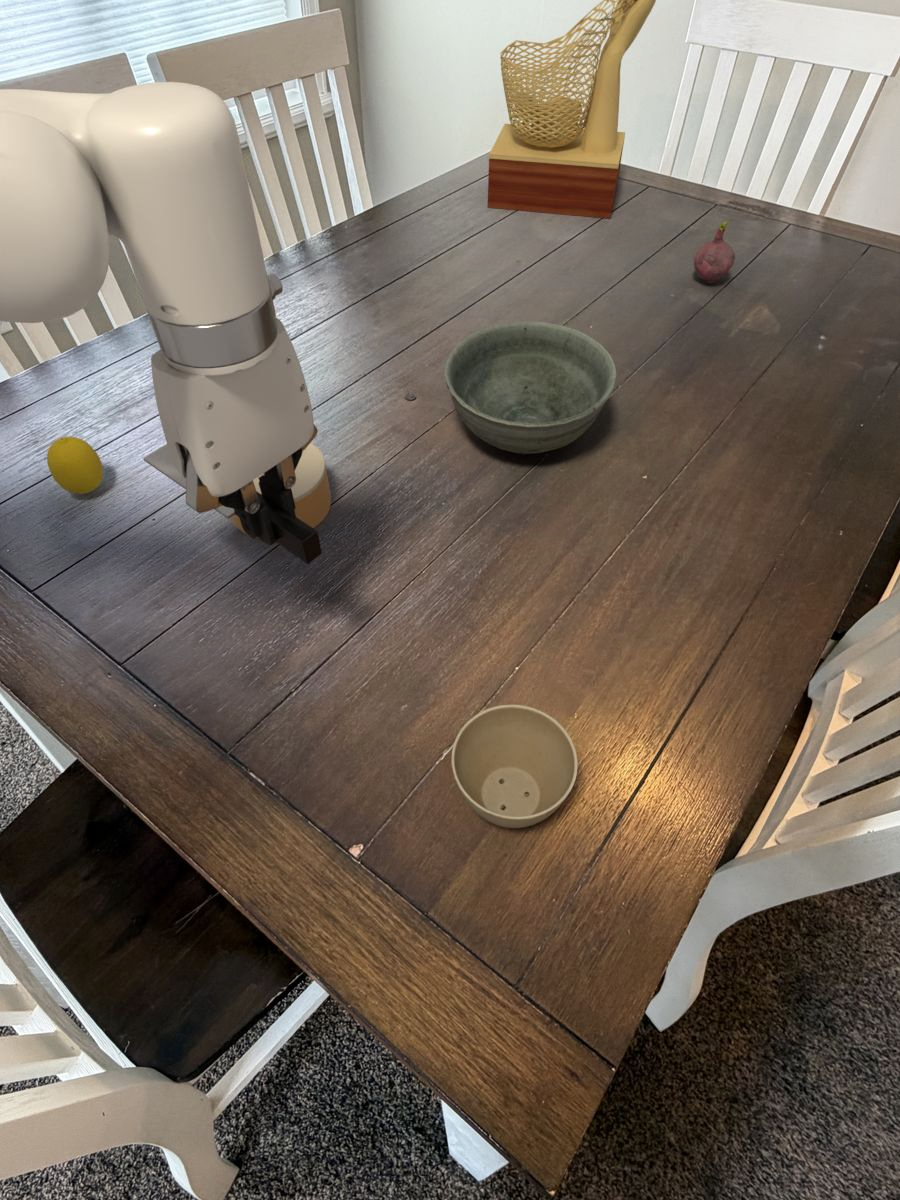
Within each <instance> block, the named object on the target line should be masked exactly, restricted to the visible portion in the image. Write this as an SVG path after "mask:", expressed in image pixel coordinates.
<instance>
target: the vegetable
mask: <svg viewBox="0 0 900 1200" xmlns="http://www.w3.org/2000/svg"><path fill="white" fill-rule="evenodd" d="M728 224H729V223H728V221H724V222H723V223H721V224H720V225H719V227H718V229H717V231H716V234H715V236H714V239H713V240H711V241H709V242H708V243H704V244H703V245H702V246H701V247H700V248H698V250H697V252H695V253H696V254H695V256H694V259H693V266H694V270H695V272H696V273H697V275H698V276H699V277H700V278H701V279H702V280H704V282H705V283H706V284H712V283H715V282H717V281H718V280H719V279H721V278H723V277H724V276H725V275H726V274H727V273H728V272H729V271H730V270H731V269H732V268H733V266H734V263H735V262H736V261H735V260H736V255H735V251H734V249H733V247H732V246H731V245H730V244H729V243H728V242H726V241H724V233H725V231H726V227H727V226H728Z"/></svg>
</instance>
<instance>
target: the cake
mask: <svg viewBox="0 0 900 1200" xmlns="http://www.w3.org/2000/svg"><path fill="white" fill-rule="evenodd" d="M262 475H264V474H262ZM262 475H260V476H262ZM295 475H296V483H295V485H294V486H293V487H292V488H291V490H292V494H293V498H294V502H295V507H296V508H295V514H296V517H297V518H298V519H300V520H301V521H303V522H305V523H306V524H308V525H309V526H311V527H312V528H314V529H316V527H317V526H319V525H320V524H322V522H323V521H324V520H325V518H326V517H327V515H328V514H329V511H330V510H331V506H332V494H331V489H330V488H331V487H330V483H329V478H328V472H327V466H326V460H325V457H324V455H323V452H321V450H320V449H319V448H318V447H317V446H316V445H315V444H313V443H312V442H311V443H310V444H309V445H308V446H307V447H306V449H305V450H302V456H301V458H300V460H299V463H298V465H297V467H296V469H295ZM260 476H259V477H260ZM259 477H257V478H256V479H254V480H253V482H254V485H255V488H256V491H257V492H259V493H260V494H261V490H260V487H259V482H260V481H259ZM230 519H231V522H232V523H233V525H234V526H235V527H236V528H237V529H238V530H239V531H240V532H241V533H243V534H245V535H247V536H249V535H248V534H247V533H246V532H245V531H244V529H243V527H242V525H241V521H240V518H239V517H238V516H237V515H234V516H232V517H231V518H230ZM249 537H250V536H249ZM255 539H257V540H260V539H259V538H258V537H256V538H255Z"/></svg>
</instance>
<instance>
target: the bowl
mask: <svg viewBox="0 0 900 1200" xmlns="http://www.w3.org/2000/svg"><path fill="white" fill-rule="evenodd" d="M443 364H444V365H443V378H444V381H445V385H446V387H447V389H448V392H449V394H450V398H451V400H452V402H453V405H454V407H455V409H456V412H457V413H458V416H459V417H460V418H461V420H462V422H463V423H464V425H465V426H466V427H467V428H468V429H469V430H470V432H472V433H473V435H475V436H476V437H477V438H479V439H481V440H482V441H484V442H485V443H486V444H488V445H490V446H493V447H495V448H497V449H500V450H502V451H506V452H510V453H513V454H516V455H535V454H542V453H544V452H545V453H547V452H551V451H554V450H557V449H561V448H563V447H566V446H568V445H570V444H571V443H572V442H574V441H576V440H577V439H578V438H580V437H581V436H582V435H583V434H585V432H587V430H588V429H589V428H590V427H591V426H592V424H593V423H594V422H595V421H596V420H597V418H598V416H599V415H600V413H601V411H602V410H603V408H604V406H605V404H606V402H608V400H609V399H610V397H611V396H612V394H613V392H614V391H615V387H616V382H617V371H616V364H615V362H614V359H613V357H612V355H611V354H610V353H609V352H608V350H607V349H605V347H604V346H603V345H602V344H600V343H599V342H598V341H596V340H595V339H594V338H592V337H591V336H589V335H587V334H586V333H584V332H581V331H579V330H577V329H575V328H574V329H573V328H571V327H568V326H565V325H561V324H556V323H551V322H546V321H532V320H531V321H513V322H505V323H501V324H495V325H492V326H488V327H484V328H482V329H480V330H477V331H475V332H473V333H471V334H469V335H468V336H466V337H465V338H464V339H462V340H461V341H459V342H458V343H457V344H456V345H455V347H454V348H453V349H452V350H451V352H450V353H449V354H448V355H447V358H446V360H445V363H443Z"/></svg>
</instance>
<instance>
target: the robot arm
mask: <svg viewBox="0 0 900 1200" xmlns="http://www.w3.org/2000/svg"><path fill="white" fill-rule="evenodd" d="M256 219H257V218H256V215H255V209H254V204H253V200H252V194H251V189H250V186H249V181H248V175H247V171H246V166H245V160H244V156H243V151H242V146H241V141H240V136H239V132H238V129H237V125H236V121H235V118H234V117H233V114H232V112H231V110H230V108H229V106H228V105H227V103H226V102H225V101H224V99H223V98H221V97H220V96H219V95H218V94H217V93H216V92H214V91H212V90H211V89H209V88H207V87H204V86H201V85H197V84H192V83H187V82H178V81H156V82H155V81H154V82H147V83H139V84H135V85H130V86H126V87H123V88H120V89H116V90H115V91H112V92H109V93H88V92H86V93H85V92H66V91H65V92H64V91H52V90H42V89H41V90H39V89H22V88H21V89H20V88H0V322H3V323H4V322H5V323H17V324H19V323H21V324H39V323H49V322H55V321H58V320H61V319H65V318H68V317H70V316H72V315H74V314H76V313H79V312H80V311H81V310H84V309H85V308H86V307H87V305H89V304H90V303H91V302H92V301H94V299H95V298H96V297H97V295H98V294H99V292H100V290H101V289H102V287H103V285H104V283H105V280H106V277H107V274H108V270H109V265H110V264H109V263H110V240H109V236H112V237H114V238H115V237H116V238H117V239H119V240H120V242H122V244H123V246H124V249H125V251H126V252H125V253H126V254H127V257H128V260H129V263H130V266H131V269H132V272H133V275H134V277H135V280H136V283H137V286H138V290H139V292H140V295H141V298H142V301H143V304H144V306H145V309H146V312H147V315H148V317H149V318H148V319H149V320H150V323H151V326H152V329H153V332H154V335H155V338H156V341H157V343H158V346H159V350H157V351H156V352H155V353H153V354H152V355H151V357H150V366H151V376H152V385H153V392H154V396H155V402H156V408H157V411H158V416H159V420H160V424H161V427H162V431H163V435H164V438H165V441H166V444H167V445H168V449H169V452H170V455H171V458H172V460H173V463H174V465H175V467H176V469H177V471H178V472H179V473H180V474H181V475H182V476H183V477H184V478H186V489H185V504H186V505H187V506H188V507H190V508H191V509H192V510H193V511H195V512H197V513H199V514H202V513H206V512H210V511H213V510H215V509H217V508H218V507H220V506H225V507H228V508H234V509H237V512H238V515H239V518H240V521H241V525H242V527H243V529H244V531H245V532H246V533H247V534H248V535H249V537H250V538H252V539H257V538H256V537H258V538H259V539H258V540H260V541H262V542H263V543H265V544H266V545H267V546H269V547H271V546H272V545H274V544H275V543H276V537H275V533H274V530H273V526H272V523H271V521H272V520H271V516H270V513H269V509H268V507H267V506H266V505H264V504H263V503H261V502H260V501H259V498H258V495H257V492H256V488H255V485H254V482H253V480H254V479H256V478H257V477H259V476H260V475H262V474H264V475H262V476H260V477H259V481H260V482H259V487H260V490H261V494H262V495H263V496H265V497H266V498H268V499H269V500H271V501H272V502H274V503H275V504H277V505H278V506H280V507H281V508H283V509H285V510H286V511H288V512H289V513H291V514H292V515H294V516H295V517H296V514H295V508H296V507H295V502H294V498H293V494H292V490H291V488H292V487H293V486H294V485H295V483H296V475H295V469H296V467H297V465H298V463H299V460H300V458H301V456H302V450H305V449H306V447H307V446H308V445H309V444H310V443H312V442H313V441H314V439H315V438H316V437H317V435H318V433H319V431H318V428H317V427H316V425H315V421H314V414H313V408H312V403H311V399H310V398H311V397H310V394H309V391H308V385H307V383H306V378H305V375H304V371H303V369H302V366H301V363H300V360H299V357H298V354H297V352H296V349H295V347H294V344H293V342H292V340H291V338H290V335H289V334H288V331H287V329H286V326H285V325H284V323H283V322H282V321H281V320H280V319H279V318H278V317H277V313H276V310H275V309H276V308H275V305H274V300H275V299H276V297H277V296H279V295H281V294H282V293H283V292H284V291H283V290H284V288H283V284H282V281H281V279H280V278H279V276H277V274H275V273H269V274H268V273H267V269H266V262H265V258H264V254H263V248H262V245H261V239H260V234H259V228H258V224H257V220H256ZM248 535H247V536H248Z"/></svg>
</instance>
